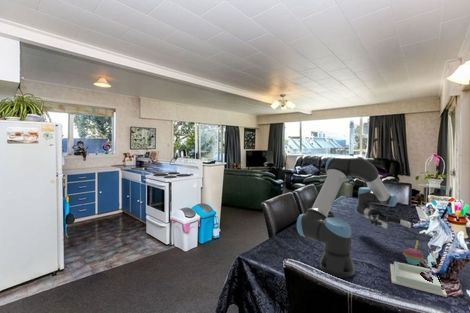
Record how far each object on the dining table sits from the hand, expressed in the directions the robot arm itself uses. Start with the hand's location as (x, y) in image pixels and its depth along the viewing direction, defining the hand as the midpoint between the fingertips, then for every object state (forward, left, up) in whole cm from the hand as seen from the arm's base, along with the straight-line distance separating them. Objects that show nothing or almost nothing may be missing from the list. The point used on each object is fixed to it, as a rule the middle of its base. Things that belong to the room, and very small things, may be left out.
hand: (398, 225), depth 129 cm
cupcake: (+6, -9, -16) cm, 19 cm away
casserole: (-46, +33, -16) cm, 59 cm away
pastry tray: (+5, -27, -15) cm, 32 cm away
